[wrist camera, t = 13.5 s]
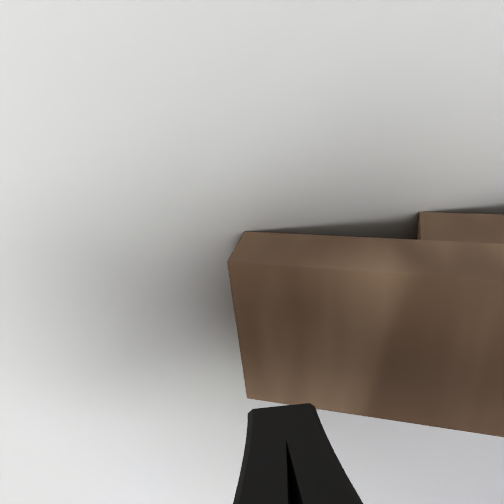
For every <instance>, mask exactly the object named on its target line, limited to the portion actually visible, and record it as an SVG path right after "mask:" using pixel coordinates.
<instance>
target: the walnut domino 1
mask: <svg viewBox="0 0 504 504" xmlns="http://www.w3.org/2000/svg"><path fill="white" fill-rule="evenodd" d="M227 262H228V269H229V276H230V283H231V290H232V297H233V304H234V311H235V318H236V324H237V331H238V338H239V345H240V352H241V359H242V366H243V373H244V380H245V387H246V393H247V398H250V399H256V400H263V401H269V402H276V403H283V404H289V405H295V404H305V403H310V404H312V405H314V406H315V408H316V409H322V410H329V411H335V412H342V413H348V414H355V415H362V416H368V417H375V418H381V419H388V420H395V421H401V422H408V423H414V424H421V425H428V426H434V427H441V428H447V429H454V430H461V431H467V432H474V433H480V434H487V435H494V436H500V437H504V244H496V243H475V242H456V241H435V240H414V239H393V238H373V237H352V236H331V235H310V234H289V233H268V232H248V231H245V232H244V234H243V236H242V237H241V239H240V241H239V242H238V244H237V246H236V248H235V249H234V251H233V253H232V255H231V256H230V258H229V260H228V261H227Z"/></svg>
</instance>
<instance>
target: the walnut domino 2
mask: <svg viewBox="0 0 504 504" xmlns="http://www.w3.org/2000/svg"><path fill="white" fill-rule="evenodd" d="M417 240H435V241H456V242H475V243H496V244H504V214H474V213H441V212H419V221H418V231H417Z"/></svg>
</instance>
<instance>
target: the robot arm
mask: <svg viewBox="0 0 504 504" xmlns="http://www.w3.org/2000/svg"><path fill="white" fill-rule="evenodd" d="M233 504H363V503H362V501H361V499H360V497H359V496H358V494H357V492H356V490H355V489H354V487H353V485H352V484H351V482H350V480H349V478H348V477H347V475H346V473H345V471H344V469H343V468H342V466H341V464H340V462H339V460H338V458H337V456H336V454H335V452H334V450H333V448H332V446H331V444H330V442H329V440H328V438H327V436H326V434H325V431H324V429H323V427H322V424H321V422H320V419H319V417H318V414H317V411H316V408H315V406H314V405H312V404H310V403H305V404H295V405H286V406H277V407H268V408H259V409H252V410H251V411H250V412H249V413H248V426H247V436H246V444H245V450H244V456H243V461H242V467H241V472H240V477H239V481H238V485H237V489H236V494H235V498H234V502H233Z"/></svg>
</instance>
